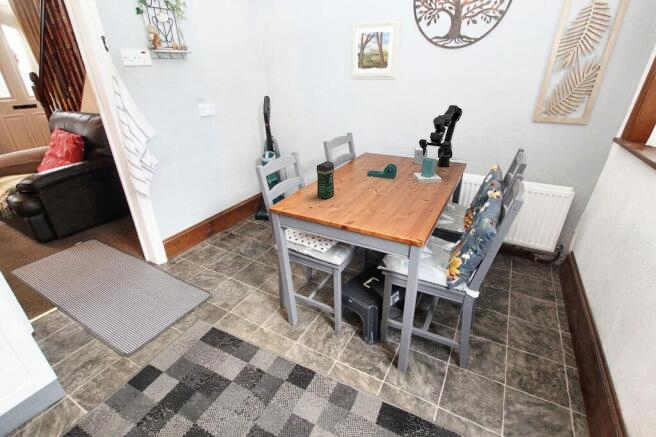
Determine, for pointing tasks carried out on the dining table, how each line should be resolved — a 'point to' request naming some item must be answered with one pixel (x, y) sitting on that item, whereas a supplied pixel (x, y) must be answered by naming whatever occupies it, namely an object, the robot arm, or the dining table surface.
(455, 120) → the robot arm
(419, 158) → the small box
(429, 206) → the dining table surface
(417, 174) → the riser block
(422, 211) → the dining table surface
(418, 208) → the dining table surface
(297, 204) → the dining table surface
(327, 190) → the coffee jar
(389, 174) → the bracket
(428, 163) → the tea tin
